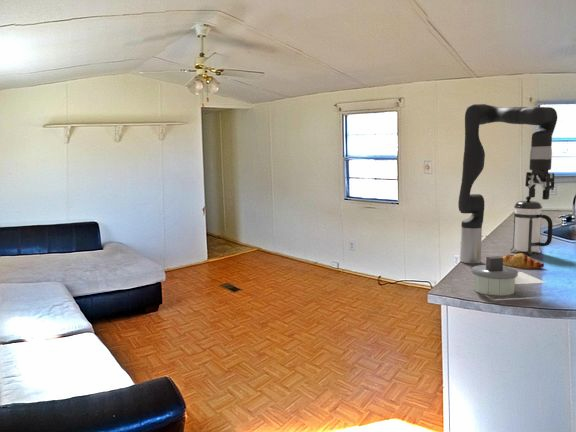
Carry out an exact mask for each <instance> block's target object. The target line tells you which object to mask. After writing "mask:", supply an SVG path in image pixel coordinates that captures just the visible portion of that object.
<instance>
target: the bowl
mask: <svg viewBox="0 0 576 432" xmlns="http://www.w3.org/2000/svg"><path fill="white" fill-rule="evenodd" d="M473 276H474V277H473V290H474V291H475V292H476V293H477V294H480V295H484V296H487V295H491V296H511V295H513V294H515V285H516V284H515V278H511V279H492V278H485V277H481V276H477V275H475V274H473Z"/></svg>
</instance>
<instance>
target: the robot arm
mask: <svg viewBox="0 0 576 432" xmlns="http://www.w3.org/2000/svg"><path fill="white" fill-rule="evenodd" d="M557 121H558V113H557V111H556V109H555V108H553V107H550V106H549V107H548V106H546V107H545V106H531V107H530V106H529V107H526V106H509V107H500V106H493V105H489V104H486V103H478V104H477V103H475V104H470V105H469V106H468V107H467V108H466V110H465V113H464V151H463V160H462V173H461V174H462V175H461V176H462V177H461V185H460V190H459V195H458V206H457V207H458V211H459V213H461V214H470V216H469V217H468V218H466V219H464V220H462V221H461V226H460V227H461V228H460V230H461V231H460V233H461V234H460V235H461V236H460V248H459V249H460V253H459V254H460V255H459V259H460V260H459V261H460V262H462V263H463V264H472V265H474V264H480V263H481V262H482V261H481V260H482V238H483V235H482V234H483V224H484V216H485V215H484V214H485V198H484V196H483V195H482V194H480V193H473V194H471V190H472V187H473V185H474V183H475V181H476V180H477V179H478V177H479V176H480V175H481V173H482V171H483V170H484V168H485V167H484V166H485V157H486V153H485V149H484V146H483V145H482V144H483V143H482V142H481V140H480V139H481V138H480V133H479V132H480V130H479V129H480V126H481V125H485V124H493V123H505V124H510V125H511V124H512V125H530V126H539V127H538V130H537V131H535V132H534V133H532V135H531V144H530V145H531V146H530V152H529V153H530V154H529V170H530V171H527V172H526V174H525V187H527V188H528V196H529V197H531V199H532V198H535V197H536V187H537V185H539V186H541V188H542V200H547V201H548V200H549V199H550V190H551V189H552V190H553V189H554V188H555V173H554V172H553V173H552V172H549V171H550V170H551V169H552V157H553V156H552V155H553V152H552V151H553V150H552V143H553V142H552V139H553V134H554V131H555V129H556V126H557V125H556V124H557V123H558V122H557Z"/></svg>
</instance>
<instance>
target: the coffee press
mask: <svg viewBox="0 0 576 432" xmlns="http://www.w3.org/2000/svg"><path fill="white" fill-rule="evenodd" d="M542 209H543V206H542V203H540V202H538V201H537V200H536V201H534V200H532V198H531V197H529V195H527V196H526V197H525V200H520V201H517V202H516V203H515V205H514V207H513V209H512V210H513V211H514V213H513V217H514V218H513V238H512V247H511V248H510V252H511V253H512V254H513V253H514V252H516V251H518V252H521V253H523V252H524V253H527V256H528V257H531V256H532V253H536V252H537V253H539V254H542V253H543V250H542V249H541V248H540V247H548V246H549V245H550V244H551V243H552V239H553V221H552V218H551V217H550V216H548V215H546V214H542ZM542 219H544V220H546V221H547V236H546V237H547V238H546V241H545V242H541V230H542V229H541V228H542V227H541V226H542ZM513 249H514V250H513ZM539 251H540V252H539Z"/></svg>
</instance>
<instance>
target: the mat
mask: <svg viewBox="0 0 576 432" xmlns="http://www.w3.org/2000/svg"><path fill="white" fill-rule="evenodd" d="M544 283H545V284H546V283H547V282H546V281H543V279H542V280H541V279H539V278H537V277H534V276H532V275H530V274H527V273H525V272H523V271H521V272H520V271H519V272H518V276H517V277H515V285H525V284H528V285H529V284H544Z"/></svg>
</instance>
